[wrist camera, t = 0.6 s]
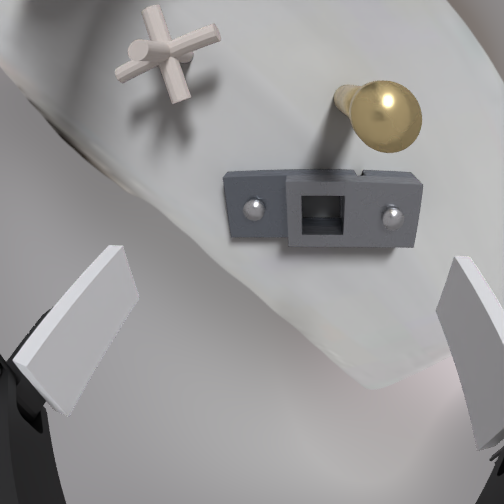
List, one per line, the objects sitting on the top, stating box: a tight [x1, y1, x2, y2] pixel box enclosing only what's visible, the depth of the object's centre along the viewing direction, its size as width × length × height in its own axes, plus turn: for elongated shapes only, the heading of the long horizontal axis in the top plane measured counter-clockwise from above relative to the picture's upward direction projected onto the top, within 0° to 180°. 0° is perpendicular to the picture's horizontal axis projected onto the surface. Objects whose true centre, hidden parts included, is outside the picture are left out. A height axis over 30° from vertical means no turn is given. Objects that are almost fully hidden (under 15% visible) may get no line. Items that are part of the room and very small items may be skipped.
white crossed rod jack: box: [115, 5, 221, 104], centre depth 22 cm, size 10×10×10 cm
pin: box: [334, 81, 422, 153], centre depth 20 cm, size 4×4×15 cm
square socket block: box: [223, 169, 423, 248], centre depth 30 cm, size 7×20×5 cm, turn 95°
